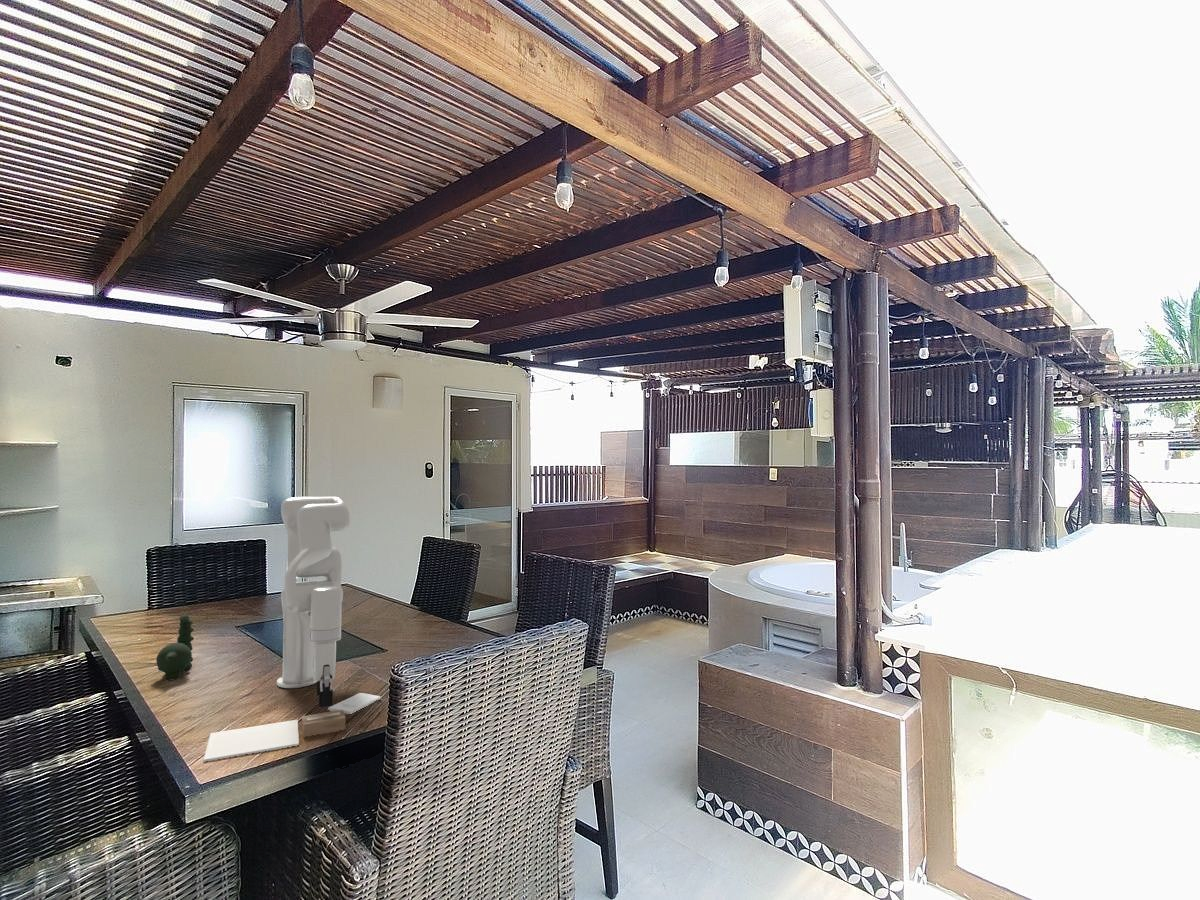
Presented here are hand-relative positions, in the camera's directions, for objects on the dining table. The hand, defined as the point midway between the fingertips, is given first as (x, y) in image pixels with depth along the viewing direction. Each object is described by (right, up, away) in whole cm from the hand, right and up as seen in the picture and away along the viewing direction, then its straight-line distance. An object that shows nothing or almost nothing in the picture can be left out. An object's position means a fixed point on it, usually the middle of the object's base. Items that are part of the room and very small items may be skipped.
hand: (324, 700), depth 164 cm
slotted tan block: (0, -8, 0) cm, 8 cm away
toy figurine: (-68, -8, +43) cm, 80 cm away
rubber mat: (-15, -7, -7) cm, 18 cm away
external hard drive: (+1, -9, +17) cm, 19 cm away
